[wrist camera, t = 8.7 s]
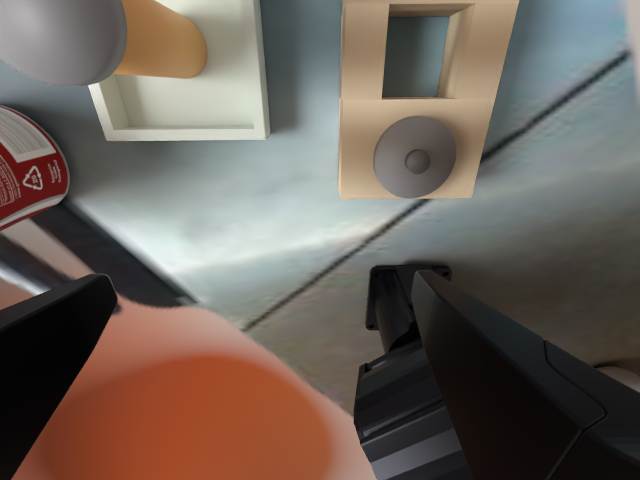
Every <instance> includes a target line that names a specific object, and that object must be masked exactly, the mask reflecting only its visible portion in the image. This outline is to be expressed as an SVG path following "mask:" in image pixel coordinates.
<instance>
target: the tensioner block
mask: <svg viewBox="0 0 640 480" xmlns="http://www.w3.org/2000/svg"><path fill="white" fill-rule="evenodd" d="M518 4H519V0H342V6H341V52H340V98H339V144H338V189H339V194H340V198H341V199H424V198H471V197H472V192H473V188H474V184H475V180H476V176H477V172H478V168H479V164H480V160H481V156H482V151H483V147H484V143H485V139H486V135H487V131H488V127H489V123H490V119H491V115H492V111H493V106H494V102H495V98H496V94H497V90H498V86H499V82H500V78H501V74H502V70H503V65H504V61H505V57H506V53H507V49H508V45H509V41H510V37H511V33H512V29H513V25H514V20H515V16H516V12H517V8H518ZM422 16H450V19H449V25H448V31H447V37H446V44H445V50H444V56H443V62H442V68H441V75H440V81H439V87H438V93H437V97H382V87H383V75H384V63H385V50H386V38H387V26H388V17H422Z"/></svg>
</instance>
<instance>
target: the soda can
mask: <svg viewBox="0 0 640 480" xmlns="http://www.w3.org/2000/svg"><path fill="white" fill-rule="evenodd" d="M69 185H70V173H69V168H68V164H67V161H66V159H65V157H64V155H63V153H62V151H61V149H60V148H59V146H58V145H57V143H56V142H55V141H54V139H53V138H52V137H51V136H50V135H49V134H48V133H47V132H46V131H45V130H44V129H43V128H42V127H41V126H40V125H38V124H37V123H36V122H35V121H33V120H32V119H30V118H29V117H27V116H26V115H24V114H22V113H20V112H18V111H16V110H14V109H11V108H9V107H5V106H2V105H0V231H1V230H3V229H6V228H8V227H10V226H12V225H14V224H16V223H18V222H21V221H23V220H25V219H27V218H29V217H31V216H34V215H36V214H38V213H40V212H42V211H44V210H46V209H49V208H51V207H53V206H55V205H56V204H58V203H59V202H61V201H62V199H63V198H64V197H65V196H66V194H67V192H68V189H69Z"/></svg>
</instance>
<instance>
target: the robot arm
mask: <svg viewBox="0 0 640 480" xmlns="http://www.w3.org/2000/svg"><path fill="white" fill-rule="evenodd" d="M445 271H447V272H446V273H444V274H443V272H445ZM375 272H379V273H378V274H374V273H375ZM451 275H452V271H451V270H450V268H449V267H448V266H429V265H401V266H389V267H373V268H372V269H371V270H370V275H369V287H368V298H367V310H366V322H365V324H366V328H367V329H368V330H379V332H380V336H381V340H382V344H383V348H384V352H385V355H383V356H381V357H379V358H377V359H376V360H374V361H372V362H370V363H368V364H367V363H365V364H363V365H361V366H360V368H359V375H358V382H357V389H356V397H355V402H354V425H355V427H356V431H357V434H358V437H359V440H360V445H361V446H362V448H363V450H364V452H365V454H366V456H367V458H368V460H369V462H370V464H371V466H372V469H373V471H374V474H375V476H376V479H377V480H640V392H638V391H636V390H634V389H632V388H631V387H629V386H627V385H625V384H623V383H621V382H619V381H617V380H616V379H614V378H612V377H610V376H608V375H606V374H605V373H603V372H601V371H599V370H597V369H595V368H594V367H592V366H590V365H588V364H586V363H585V362H583V361H581V360H580V359H578V358H576V357H574V356H573V355H571V354H569V353H567V352H566V351H564V350H562V349H561V348H559V347H557V346H556V345H554V344H552V343H551V342H549V341H547V340H543V338H542V337H541V336H539V335H537V334H536V333H534V332H532V331H531V330H529V329H527V328H526V327H524V326H522V325H521V324H519V323H517V322H516V321H514V320H512V319H511V318H509V317H507V316H506V315H504V314H502V313H501V312H499V311H497V310H496V309H494V308H492V307H491V306H489V305H487V304H486V303H484V302H482V301H481V300H479V299H477V298H476V297H474V296H472V295H471V294H469V293H467V292H466V291H464V290H462V289H461V288H459V287H457V286H456V285H454V284H452V283H451V282H450V279H451ZM117 300H118V298H117V294H116V292H115V289H114V287H113V284H112V282H111V279H110V277H109V276H108V275H106V274H89V275H87V276H84V277H82V278H79V279H77V280H74V281H72V282H69V283H67V284H64V285H62V286H59V287H57V288H54V289H52V290H49V291H47V292H44V293H42V294H39V295H37V296H34V297H32V298H30V299H27V300H24V301H22V302H20V303H17V304H15V305H12V306H9V307H7V308H5V309H2V310H0V480H11V479H12V477H13V476H14V474H15V473H16V471H17V469H18V468H19V466H20V465H21V463H22V462H23V460H24V459H25V457H26V455H27V454H28V452H29V451H30V449H31V448H32V446H33V445H34V443H35V441H36V440H37V438H38V437H39V435H40V433H41V432H42V430H43V429H44V427H45V426H46V424H47V423H48V421H49V419H50V418H51V416H52V415H53V413H54V411H55V410H56V408H57V407H58V405H59V403H60V402H61V401H62V399H63V397H64V396H65V394H66V393H67V391H68V390H69V388H70V386H71V385H72V383H73V382H74V380H75V379H76V377H77V375H78V374H79V372H80V371H81V369H82V368H83V366H84V364H85V363H86V361H87V360H88V358H89V356H90V355H91V353H92V351H93V350H94V348H95V346H96V344H97V342H98V340H99V338H100V336H101V334H102V332H103V330H104V328H105V326H106V324H107V323H108V320H109V319H110V317H111V315H112V313H113V311H114V309H115V307H116V305H117ZM370 324H373V325H370Z"/></svg>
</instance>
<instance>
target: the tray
mask: <svg viewBox="0 0 640 480" xmlns="http://www.w3.org/2000/svg"><path fill="white" fill-rule="evenodd" d="M155 1H157V2H159V3H160V4H162V5H164V6H166V7H168V8H169V9H171V10H173V11H175V12H176V13H178V14H180V15H182V16H184V17H185V18H187V19H189V20H190V21H192V22H193V23H194V24H195V25H196V26H197V27H198V29H199V30H200V31H201V33H202V35H203V37H204V39H205V42H206V46H207V61H206V64H205V67H204V68H203V70H202V71H201V72H200V73H199V74H198V75H197V76H195V77H193V78H189V79H181V78H167V77H153V76H139V75H125V74H112V75H111V76H109V77H108V78H106V79H105V80H103V81H101V82H99V83H95V84H92V85H88V87H89V90H90V93H91V96H92V99H93V102H94V105H95V108H96V111H97V114H98V117H99V120H100V123H101V126H102V129H103V132H104V135H105V138H106V141H179V140H266V139H267V138H268V136H269V135H270V134H271V132H270V119H269V107H268V94H267V82H266V69H265V57H264V44H263V32H262V20H261V7H260V0H155Z"/></svg>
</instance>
